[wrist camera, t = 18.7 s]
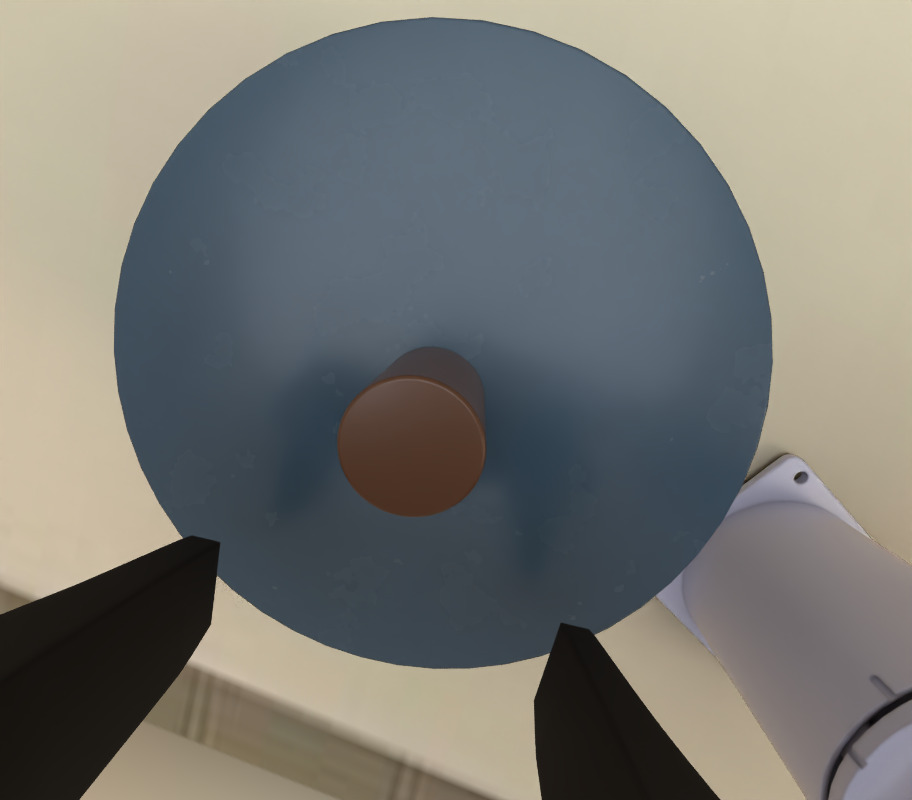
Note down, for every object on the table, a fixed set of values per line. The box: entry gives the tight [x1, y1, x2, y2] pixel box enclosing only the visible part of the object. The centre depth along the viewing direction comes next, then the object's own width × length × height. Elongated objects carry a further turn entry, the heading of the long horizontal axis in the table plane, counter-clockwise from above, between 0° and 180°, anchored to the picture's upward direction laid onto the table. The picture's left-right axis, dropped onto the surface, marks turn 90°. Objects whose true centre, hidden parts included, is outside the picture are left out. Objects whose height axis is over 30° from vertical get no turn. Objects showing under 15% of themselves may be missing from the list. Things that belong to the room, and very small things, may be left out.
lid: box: [114, 17, 773, 669], centre depth 9 cm, size 15×15×4 cm
